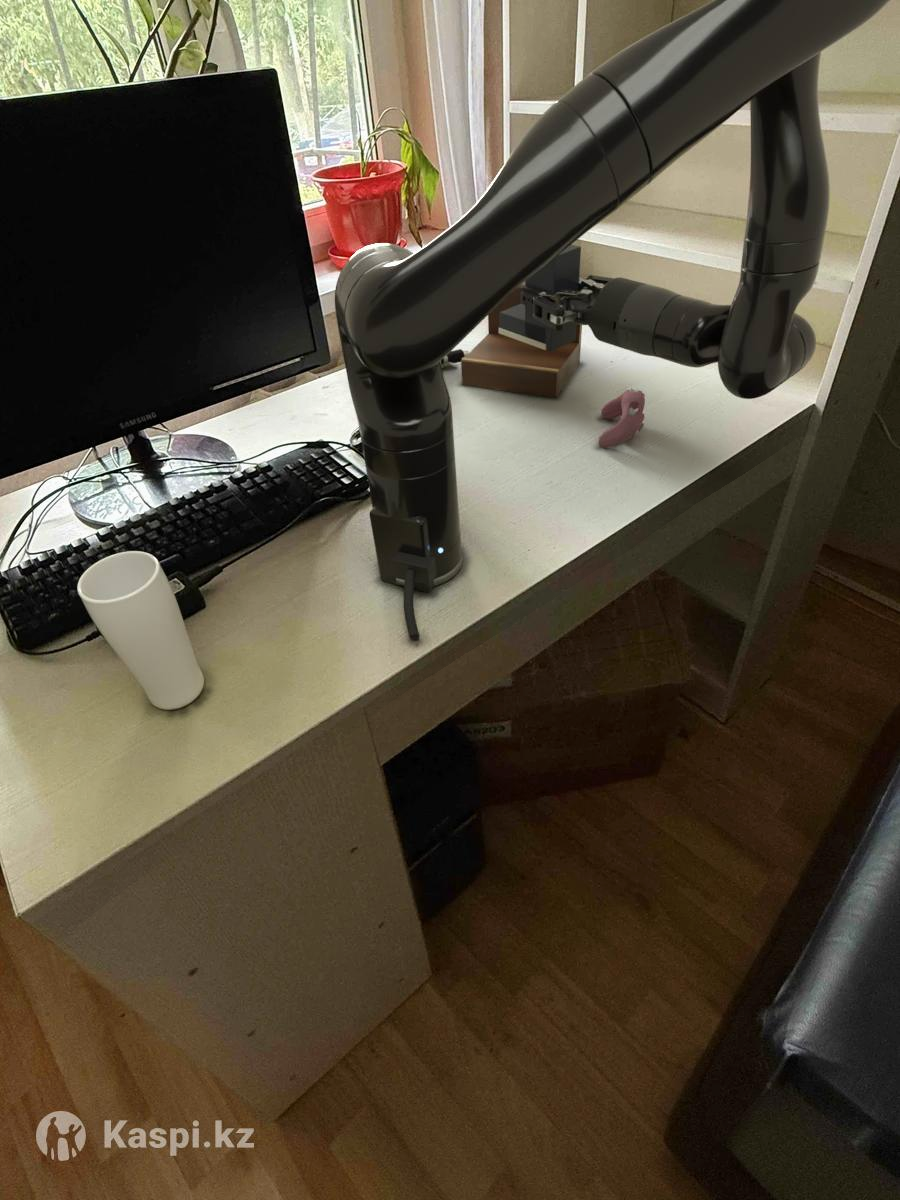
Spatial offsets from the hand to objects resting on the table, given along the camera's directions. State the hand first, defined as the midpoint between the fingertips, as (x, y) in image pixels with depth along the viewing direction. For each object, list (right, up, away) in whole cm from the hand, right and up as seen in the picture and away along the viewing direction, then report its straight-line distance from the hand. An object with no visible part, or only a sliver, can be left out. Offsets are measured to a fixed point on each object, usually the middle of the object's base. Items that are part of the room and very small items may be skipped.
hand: (537, 288), depth 92 cm
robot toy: (-16, -4, +24) cm, 29 cm away
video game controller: (+13, -18, +6) cm, 23 cm away
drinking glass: (-38, -51, -25) cm, 69 cm away
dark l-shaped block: (0, -5, +4) cm, 6 cm away
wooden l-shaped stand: (0, -4, +21) cm, 22 cm away
